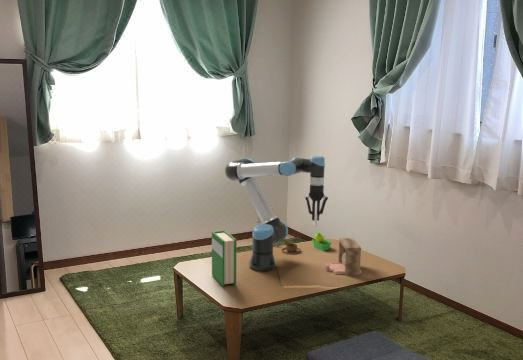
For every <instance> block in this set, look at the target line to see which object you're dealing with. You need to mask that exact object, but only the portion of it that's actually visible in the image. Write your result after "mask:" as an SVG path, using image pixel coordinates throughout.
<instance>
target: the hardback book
mask: <svg viewBox="0 0 523 360" xmlns="http://www.w3.org/2000/svg"><path fill="white" fill-rule="evenodd" d="M211 276H213V278H214V279H215V280H216V282H218V283H219V284H220V285H221V286H222V287H225V285H228V284H233V285H237V238H235V237H234V236H233V235H232V234H231V233H229V232H228V231H226V230H215V231H211Z"/></svg>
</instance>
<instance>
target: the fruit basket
mask: <svg viewBox="0 0 523 360" xmlns="http://www.w3.org/2000/svg"><path fill="white" fill-rule="evenodd" d="M311 240H312V244H313V247H314V248H316V249H318V250H320V251H322V252H324V251H328V250H330V247H331V245H332V242H331V241H329V240H326V239H325V237H324V235H323V234H322V233H320V232H316V233H315V235H314V238H313V239H311Z"/></svg>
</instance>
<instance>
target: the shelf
mask: <svg viewBox="0 0 523 360" xmlns="http://www.w3.org/2000/svg"><path fill="white" fill-rule="evenodd" d="M338 240H339V241H338V262H337V263H339V262H342V255H343V253H346V258H345V274H344V275H345V276H360V275H361V274H360V270H361V256H362V255H361V254H362V248H361V245H360V244H358V242H357V241H356V240H355V238H353V237H351V238H350V237H348V238H347V237H346V238H345V237H343V238H342V237H341V238H339V239H338Z"/></svg>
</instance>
